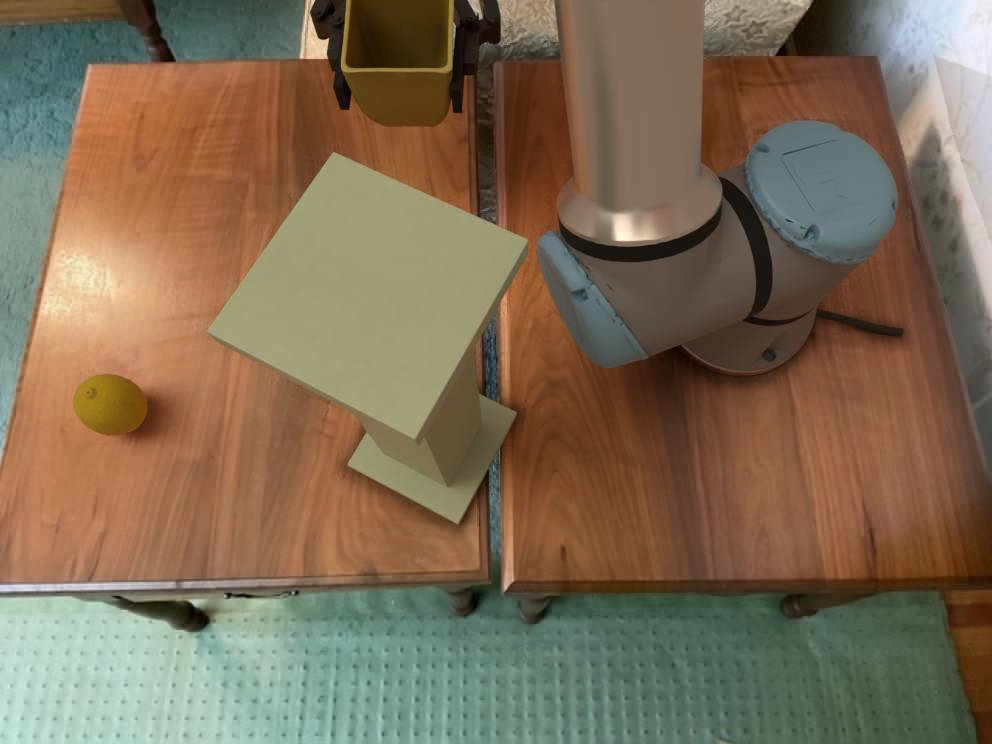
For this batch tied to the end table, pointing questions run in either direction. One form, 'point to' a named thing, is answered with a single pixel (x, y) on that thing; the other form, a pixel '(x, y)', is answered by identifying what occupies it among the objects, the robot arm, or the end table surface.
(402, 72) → the flower pot
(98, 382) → the lemon
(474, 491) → the plant stand
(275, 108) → the end table surface
